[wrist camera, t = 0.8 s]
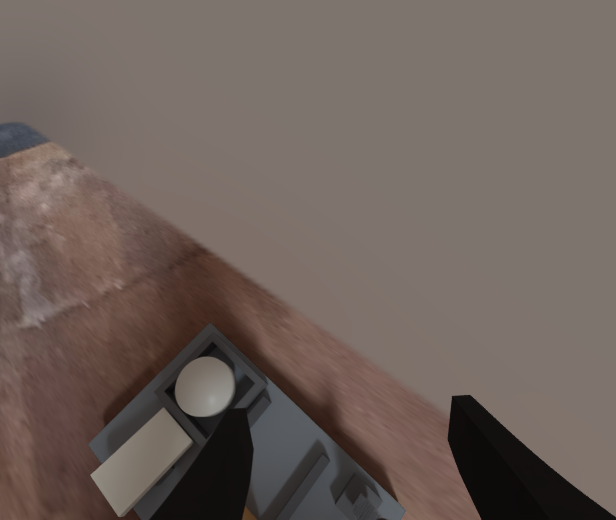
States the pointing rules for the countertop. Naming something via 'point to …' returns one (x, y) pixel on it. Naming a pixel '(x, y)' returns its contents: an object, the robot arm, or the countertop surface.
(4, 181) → the countertop surface
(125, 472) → the beige flat panel
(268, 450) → the console
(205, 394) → the button
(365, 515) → the lever
